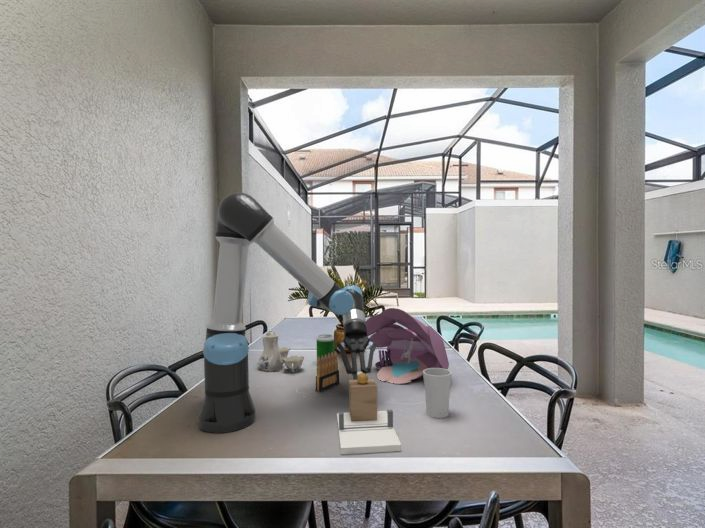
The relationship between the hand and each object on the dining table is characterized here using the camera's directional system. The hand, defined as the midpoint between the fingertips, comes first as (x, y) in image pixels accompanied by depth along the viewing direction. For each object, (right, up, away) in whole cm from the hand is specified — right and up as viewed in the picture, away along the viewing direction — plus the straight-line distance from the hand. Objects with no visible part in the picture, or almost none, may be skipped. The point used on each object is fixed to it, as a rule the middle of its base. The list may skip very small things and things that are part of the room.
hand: (361, 394), depth 113 cm
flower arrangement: (+17, -5, +34) cm, 38 cm away
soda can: (-14, -5, +52) cm, 54 cm away
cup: (+22, -5, -1) cm, 23 cm away
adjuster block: (0, -4, -6) cm, 7 cm away
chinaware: (-33, -5, +49) cm, 59 cm away
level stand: (+1, -6, -13) cm, 14 cm away
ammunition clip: (-11, -5, +22) cm, 26 cm away
